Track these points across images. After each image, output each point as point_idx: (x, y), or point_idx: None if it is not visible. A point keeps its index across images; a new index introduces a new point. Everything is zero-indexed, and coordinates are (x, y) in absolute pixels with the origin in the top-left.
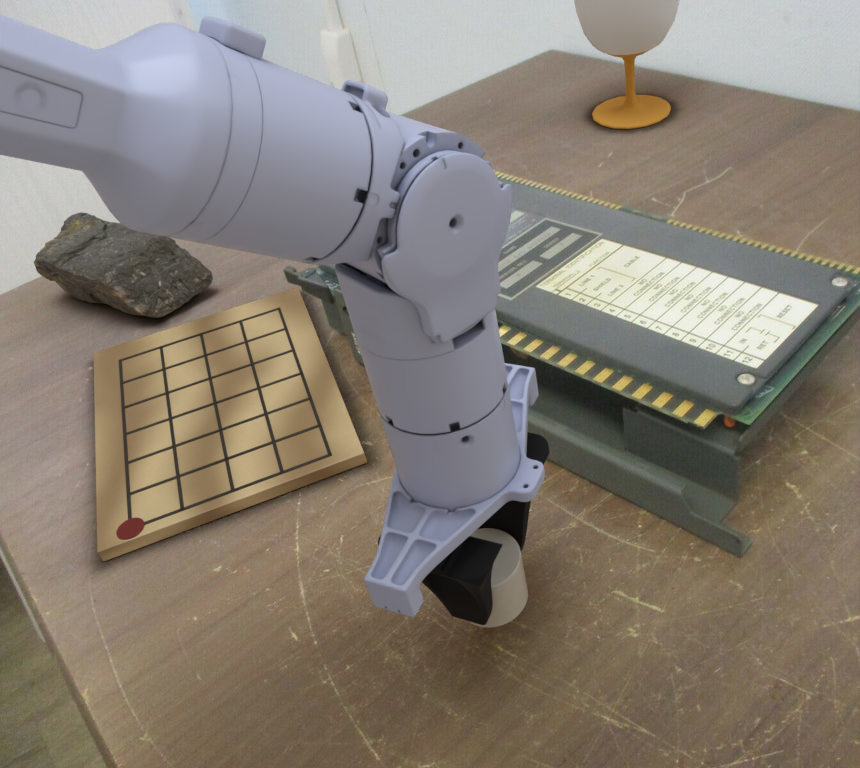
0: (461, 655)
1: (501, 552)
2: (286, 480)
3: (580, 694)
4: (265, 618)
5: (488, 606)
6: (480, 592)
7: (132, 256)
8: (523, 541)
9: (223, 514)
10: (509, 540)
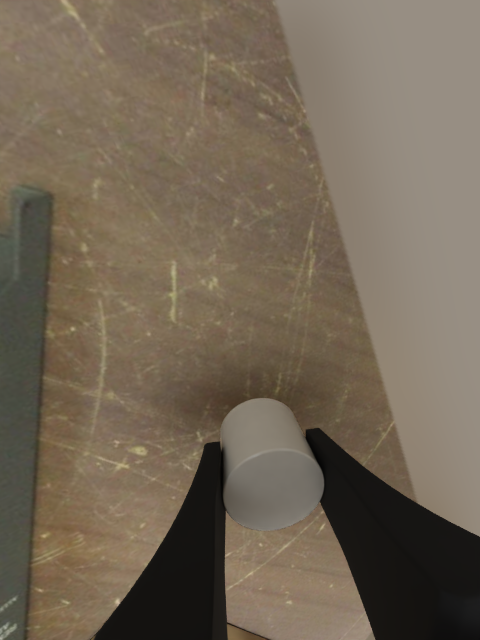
0: (295, 414)
1: (258, 478)
2: None
3: (296, 304)
4: (316, 551)
5: (334, 448)
6: (413, 501)
7: None
8: (212, 455)
9: (245, 634)
10: (235, 479)
